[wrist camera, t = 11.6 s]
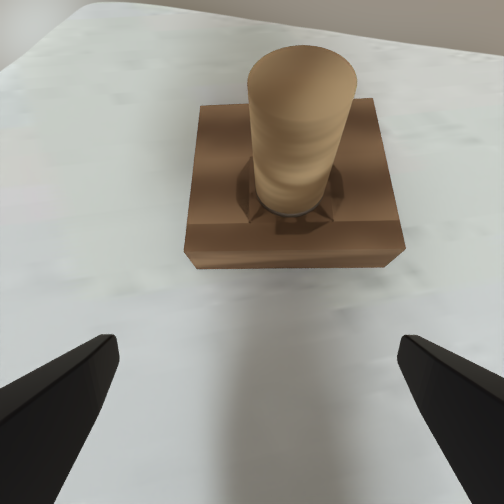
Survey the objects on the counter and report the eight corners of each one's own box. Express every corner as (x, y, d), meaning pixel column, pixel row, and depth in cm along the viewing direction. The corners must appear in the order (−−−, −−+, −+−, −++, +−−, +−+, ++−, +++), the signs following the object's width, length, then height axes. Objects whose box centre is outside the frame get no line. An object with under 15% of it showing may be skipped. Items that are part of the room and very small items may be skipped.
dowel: (325, 201, 26) (373, 61, 14) (301, 249, 24) (331, 135, 12) (273, 181, 27) (276, 35, 15) (247, 224, 26) (227, 99, 14)
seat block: (384, 267, 23) (406, 248, 19) (196, 268, 24) (183, 251, 20) (359, 132, 29) (372, 98, 25) (208, 137, 30) (200, 105, 26)
